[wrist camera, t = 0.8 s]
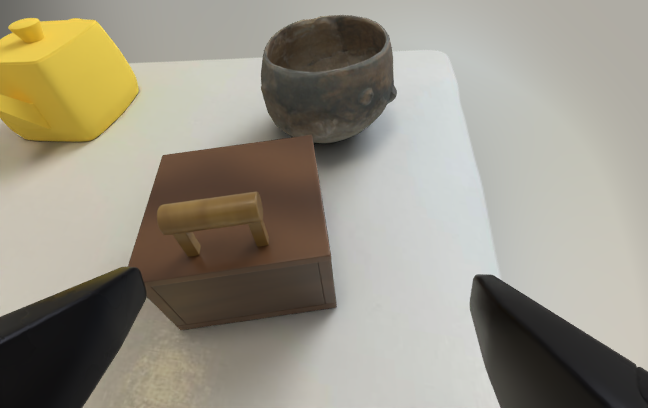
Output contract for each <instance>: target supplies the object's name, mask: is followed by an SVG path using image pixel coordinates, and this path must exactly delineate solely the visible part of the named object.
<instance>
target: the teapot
mask: <svg viewBox="0 0 648 408" xmlns="http://www.w3.org/2000/svg"><path fill="white" fill-rule="evenodd" d="M8 28H9V29H10V30H11V31H12V32H13V33H11V34H9V35H7V36H5V37H3V38H2V39H0V118H1V119H2V120H3V122H4V123H5V124H6V125H7V126H8V127H9V128H10V129H11V130H12V131H14V132H15V133H16V134H18V135H19V136H21V137H23V138H24V139H27V140H36V141H91V140H93V139H95V138H96V137H98V136H99V135H100V134H101V133H103V132H104V131H105V130H106V129H107V128H108V127H109V126H110V125H111V124H112V123H113V122H114V121H116V120H117V119H118V118H119V117H120V116H121V114H122V113H123V112H124V111H125V110H126V109H127V107H128V106H129V105H130V104H131V102H132V101H133V100H134V98H135V97H136V95H137V94H138V92H139V89H138V84H137V80H136V77H135V75H134V73H133V71H132V69H131V67H130V66H129V64H128V62H127V61H126V59H125V58H124V56H123V55H122V53H121V52H120V50H119V49H118V47H117V46H116V45H115V43H114V42H113V41H112V39H111V38H110V37H109V36H108V34H107V33H106V32H105V31H104V29H103V28H102V27H101V26H100V25H99V23H98V22H97V21H95V20H83V19H78V18H74V19H69V20H61V21H44V22H40V21H39V19H36V18H27V19H23V20H19V21H16V22H14V23H12V24H11V25H10V26H9V27H8Z"/></svg>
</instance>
